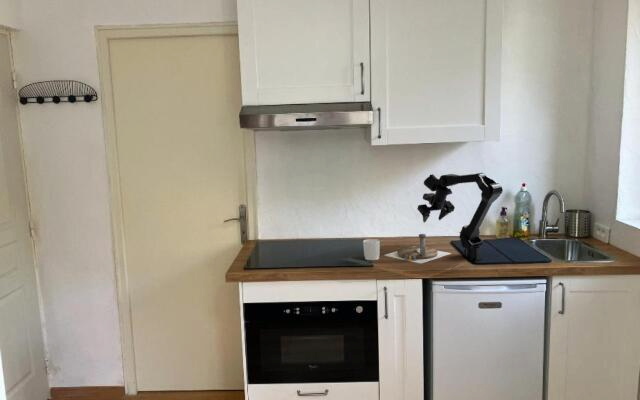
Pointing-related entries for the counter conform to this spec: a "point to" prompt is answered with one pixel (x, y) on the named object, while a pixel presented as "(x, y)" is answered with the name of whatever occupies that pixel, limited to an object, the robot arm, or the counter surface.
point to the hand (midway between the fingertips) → (431, 220)
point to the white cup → (371, 249)
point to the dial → (418, 250)
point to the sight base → (395, 255)
